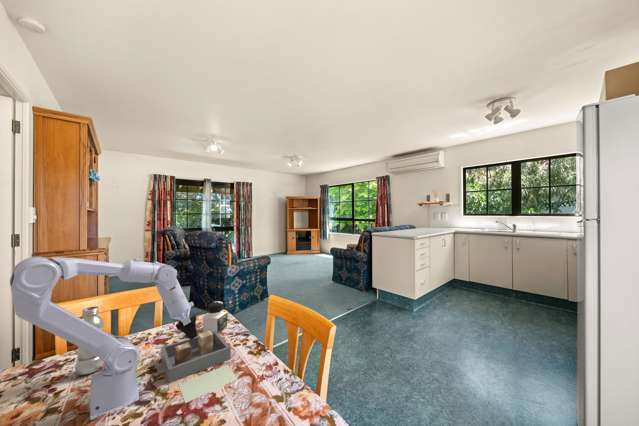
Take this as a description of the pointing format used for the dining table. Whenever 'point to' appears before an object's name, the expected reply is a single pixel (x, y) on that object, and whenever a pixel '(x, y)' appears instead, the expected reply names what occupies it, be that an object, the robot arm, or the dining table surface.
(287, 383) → the dining table surface
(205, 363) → the bin
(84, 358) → the plastic bottle
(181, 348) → the walnut block
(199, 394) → the board
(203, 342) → the birch block
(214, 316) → the medicine bottle
